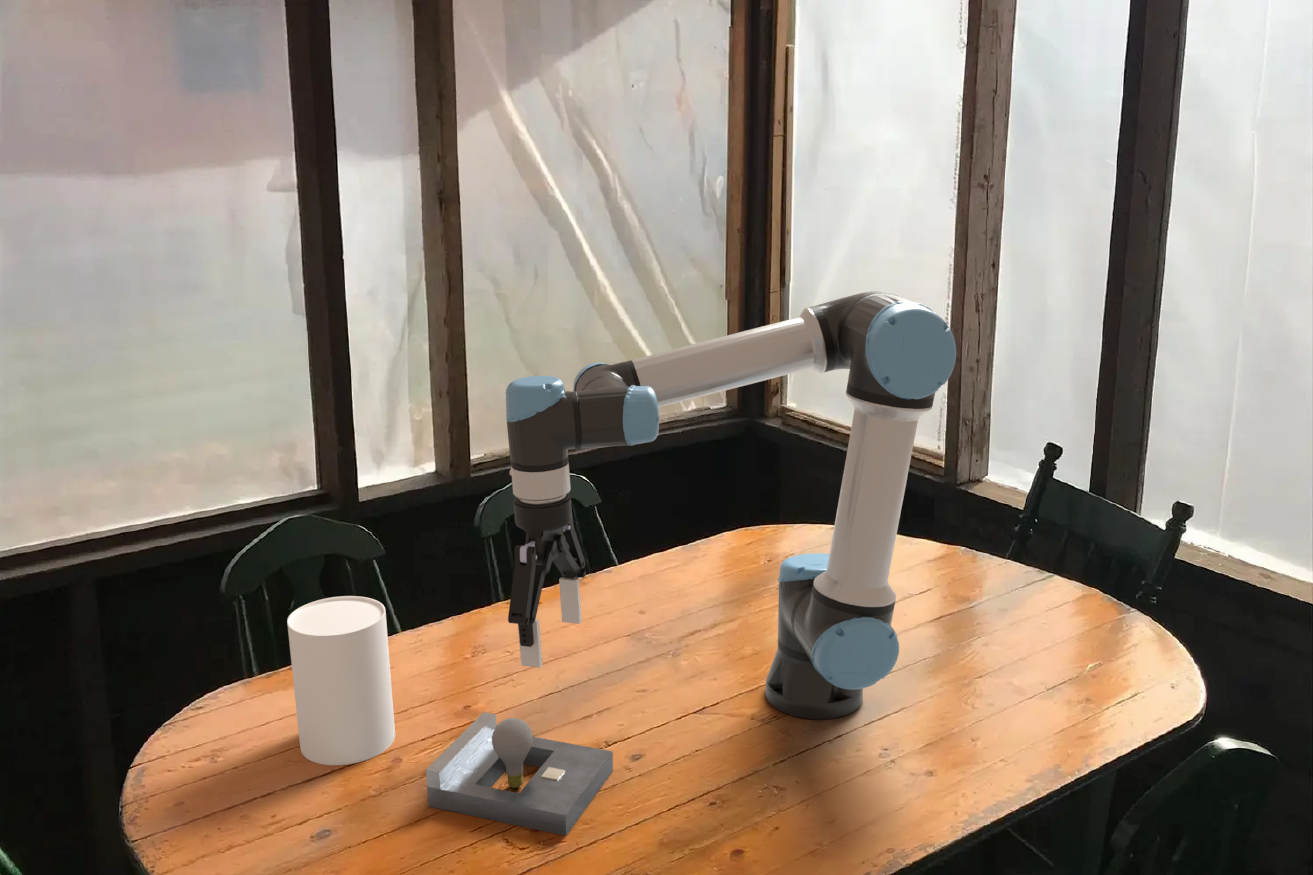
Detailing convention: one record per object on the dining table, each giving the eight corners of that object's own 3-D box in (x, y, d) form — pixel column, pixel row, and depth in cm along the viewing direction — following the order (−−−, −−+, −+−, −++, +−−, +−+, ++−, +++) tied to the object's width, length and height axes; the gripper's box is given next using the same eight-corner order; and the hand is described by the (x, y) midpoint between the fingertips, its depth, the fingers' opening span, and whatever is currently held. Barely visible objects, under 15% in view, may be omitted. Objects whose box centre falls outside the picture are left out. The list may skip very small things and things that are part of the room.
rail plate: (613, 770, 160) (612, 735, 158) (566, 835, 145) (565, 797, 144) (485, 745, 166) (483, 712, 165) (428, 806, 152) (425, 769, 150)
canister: (295, 728, 172) (282, 605, 166) (386, 709, 177) (376, 590, 171) (306, 773, 160) (292, 642, 154) (403, 752, 165) (393, 625, 159)
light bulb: (495, 799, 153) (489, 731, 151) (496, 778, 158) (491, 712, 156) (536, 795, 153) (531, 728, 151) (535, 774, 159) (531, 709, 156)
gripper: (553, 465, 162) (563, 603, 168) (472, 525, 139) (486, 682, 145) (602, 468, 160) (610, 607, 165) (528, 529, 137) (540, 689, 143)
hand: (552, 643), depth 155 cm, fingers open, 13 cm apart
